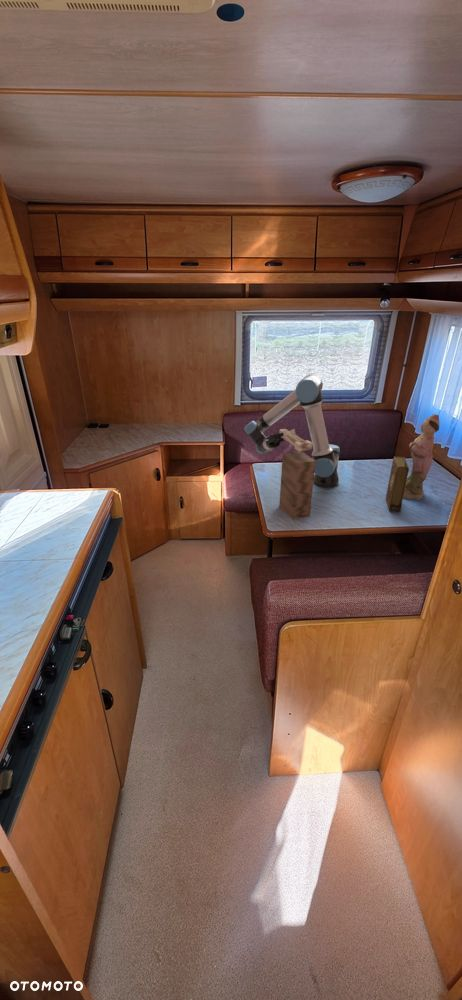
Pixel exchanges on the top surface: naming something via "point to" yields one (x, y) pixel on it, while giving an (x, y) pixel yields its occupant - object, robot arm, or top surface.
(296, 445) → the birch bar
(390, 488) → the book
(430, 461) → the statue
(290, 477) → the walnut stand
